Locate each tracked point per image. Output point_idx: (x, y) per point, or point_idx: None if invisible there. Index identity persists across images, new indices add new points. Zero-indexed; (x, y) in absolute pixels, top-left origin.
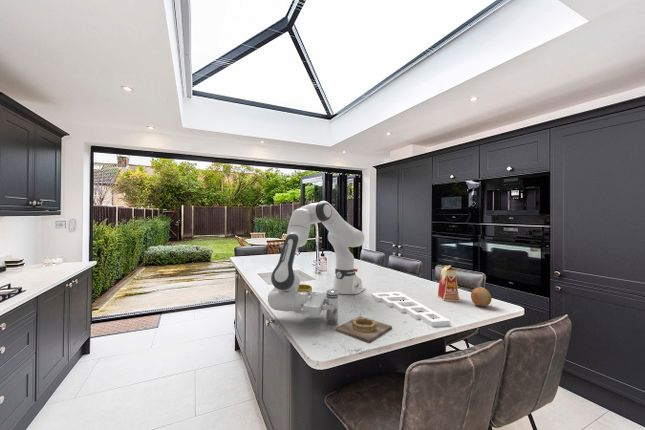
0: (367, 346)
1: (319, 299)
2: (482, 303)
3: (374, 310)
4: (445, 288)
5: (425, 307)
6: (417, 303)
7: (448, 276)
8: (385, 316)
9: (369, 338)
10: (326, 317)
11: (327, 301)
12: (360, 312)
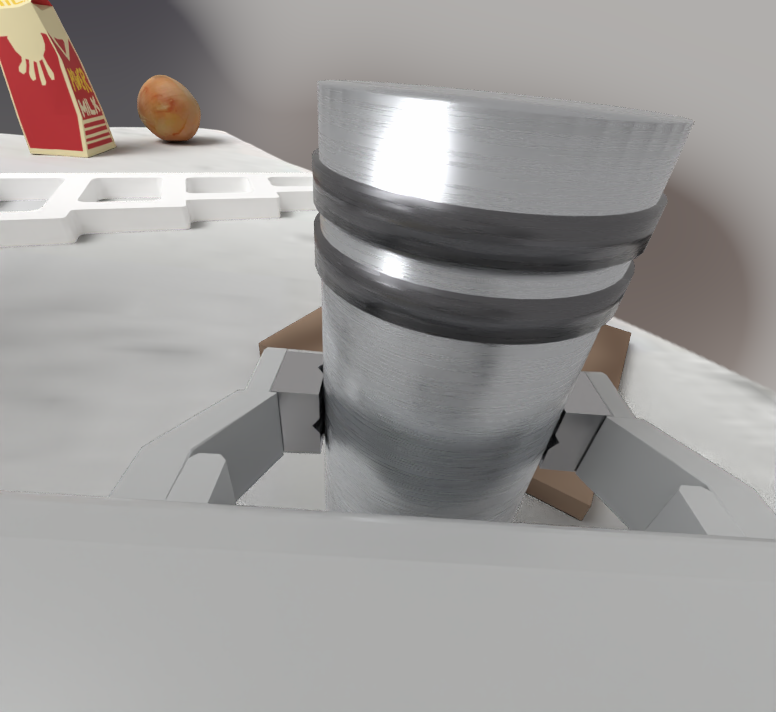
0: (670, 353)
1: (502, 700)
2: (194, 127)
3: (109, 289)
4: (72, 100)
5: (192, 174)
6: (131, 175)
7: (53, 39)
8: (234, 268)
9: (609, 330)
10: None
11: (554, 412)
12: (119, 348)
